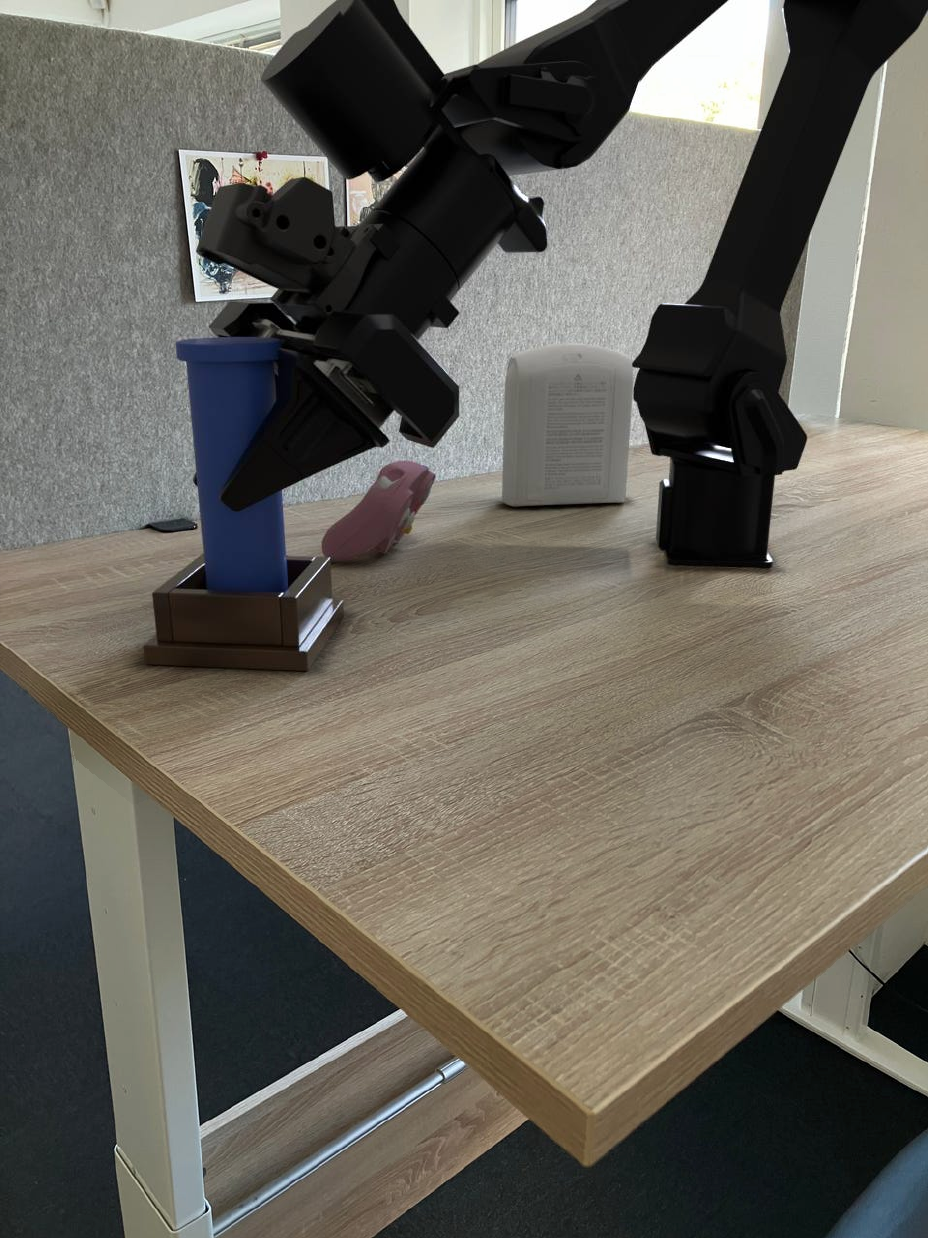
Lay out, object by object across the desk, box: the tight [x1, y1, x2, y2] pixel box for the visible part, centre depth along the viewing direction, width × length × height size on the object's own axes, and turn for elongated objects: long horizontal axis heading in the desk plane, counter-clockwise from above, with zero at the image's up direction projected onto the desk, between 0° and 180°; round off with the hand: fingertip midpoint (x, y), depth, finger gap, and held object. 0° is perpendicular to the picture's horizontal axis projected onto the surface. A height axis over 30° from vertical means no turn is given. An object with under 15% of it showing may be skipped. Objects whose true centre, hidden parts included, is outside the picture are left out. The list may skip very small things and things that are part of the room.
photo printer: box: [501, 342, 634, 508], centre depth 80 cm, size 10×4×12 cm, turn 103°
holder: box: [142, 552, 345, 672], centre depth 52 cm, size 8×8×4 cm
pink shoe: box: [320, 459, 437, 563], centre depth 68 cm, size 10×5×7 cm, turn 168°
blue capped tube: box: [175, 336, 288, 594], centre depth 50 cm, size 5×5×14 cm
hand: (212, 496), depth 49 cm, fingers closed on blue capped tube, 4 cm apart
